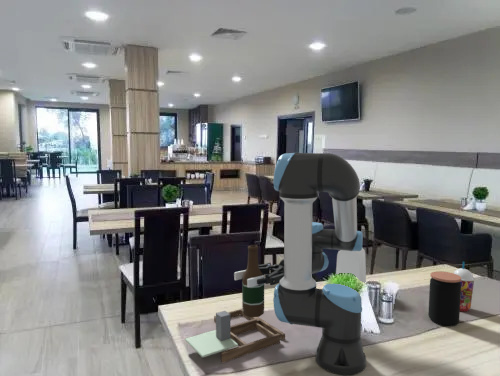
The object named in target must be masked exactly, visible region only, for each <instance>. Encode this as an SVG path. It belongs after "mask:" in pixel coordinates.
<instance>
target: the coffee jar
mask: <svg viewBox="0 0 500 376" xmlns="http://www.w3.org/2000/svg"><path fill="white" fill-rule="evenodd" d="M460 281H461V277H460V276H459V275H457V274H454V272H448V271H440V270H439V271H432V272H431V273H430V280H429V294H428V297H429V298H428V312H427V313H428V314H427V315H428V318H429V319H430V321H431V322H432V323H434V324H437V325H439V326H444V327H455V326H456V325H458V323H459V321H460V312H461V311H460V297H461V283H460Z"/></svg>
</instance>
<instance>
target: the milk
mask: <svg viewBox="0 0 500 376" xmlns="http://www.w3.org/2000/svg"><path fill="white" fill-rule="evenodd" d="M366 263H367V262H366V250H365V249H364V248H363V247H362V250H361V251H346V250H338V252H337V254H336V268H335V275H336V274H339V273H352V274H354V275H355V276H356V277H357V278H358V279H359V280H360V281H362V282H364V283H365V282H366V283H367V272H366V269H367V268H366V265H367V264H366Z"/></svg>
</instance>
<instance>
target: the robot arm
mask: <svg viewBox="0 0 500 376" xmlns="http://www.w3.org/2000/svg"><path fill="white" fill-rule="evenodd" d="M274 167H275V168H274V172H273V181H272V182H273V189H274V190H275V191H276V192H279V198H280V200H282V202H283V203H284V209H283V210H284V211H283V212H284V213H283V214H284V218H283V219H284V227H283V228H284V229H283V230H284V238H283V239H284V241H283V242H284V246H283V247H284V251H283V252H284V254H283V257H284V258H283V259H282V260H280V262H279V263H278V264H276V263H274V264H271V262H267V263H262V264H259V269H260V271H261V273H262V274H263V276H258V277H254V278H250V279H247V287H248V288H249V287H253V286H257V285H261V284H264V285H270V286H275V287H274V291H273V300H272V301H273V311H274V314H275V317H276V318H277V320H278V321H279V322H281V323H285V324H289V325H297V326H303V327H304V326H306V327H312V328H318V329H319V328H320V329H322V330H321V331H322V332H321V338H320V340H319V343H318V346H317V348H316V352H315V361H316V363H317V365H318V366H319V367H320V368H321V369H323V370H325V371H327V372H330V373H332V374H337V375H340V376H341V375H343V376H349V375H351V376H352V375H357V374H359V373H362V372H363V371H364V370H365V369H366V366H367V357H366V353H365V351H364V348H363V347H364V346H363V343H362V339H361V338H362V313H363V307H362V304H363V303H362V295H361V296H360V294H359V293H358V292H357V291H356V290H354V289H352V288H350V287H348V286H345V285H341V284H335V283H327V284H324V285H323V287H322V288H317V281H316V280H315V279H314V278H313V277H312V274H313V275H314V274H318V273H319V272H323V271H325V270H327V268H328V267H329V263H330V262H329V259H328V255H327V254H326V253H325V252H324V251H323V249H325V250H337V251H340V250H346V251H361V250H362V248H363V238H364V237H363V236H364V234H363V232H362V231H360V230H358V216H357V215H358V214H357V213H358V208H357V207H358V205H357V197H358V195H359V194H360V191H361V182H360V178H359V176H358V174H357V172H356V170H355V169H354V167H353V166H352V165H351V164H350V163H349V162H348V161H347V160H346V159H344V158H343V157H341V156H340V155H338V154H335V153H330V152H322V153H318V152H316V153H315V152H291V153H289V152H288V153H287V152H286V153H283V154H281V155H279V156H278V159H277V162H276V164H275V166H274ZM318 193H328V195H329V196H330V197H331V198H332V199H331V202H332V210H333V221H334V229H333V228H324V224H323V223H321V222H316V221H315V222H314V221H313V203H314V202H315V201H316V200H317V199H318V198H319V197H318ZM245 271H246V269H244V270H239V271H235V272H234V273H233V277H234V281H238V280H239V281H240V280H242V278H243V274H244V272H245Z"/></svg>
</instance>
